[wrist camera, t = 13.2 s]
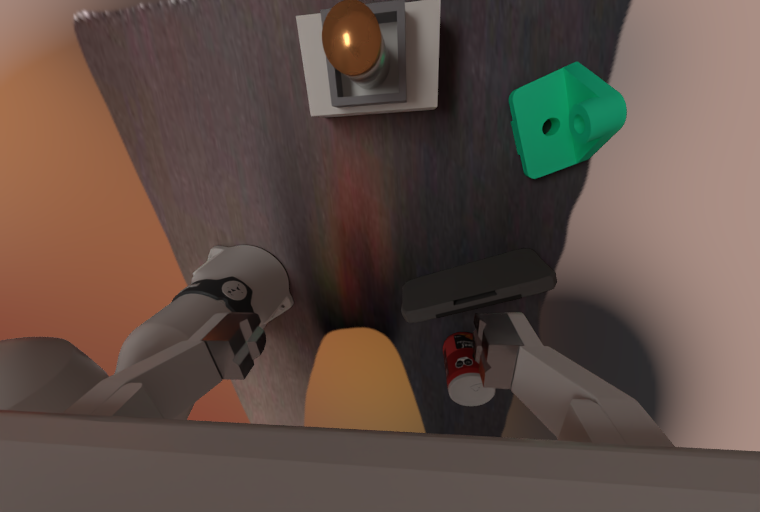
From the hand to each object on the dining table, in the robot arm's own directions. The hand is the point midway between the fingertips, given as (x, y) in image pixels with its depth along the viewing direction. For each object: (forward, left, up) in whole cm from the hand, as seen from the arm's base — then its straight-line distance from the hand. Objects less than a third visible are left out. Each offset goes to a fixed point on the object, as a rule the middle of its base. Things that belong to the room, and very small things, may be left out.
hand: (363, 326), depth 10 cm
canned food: (-16, -33, -36) cm, 52 cm away
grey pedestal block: (+7, +12, -36) cm, 39 cm away
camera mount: (+18, -10, -36) cm, 42 cm away
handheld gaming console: (-4, -20, -36) cm, 42 cm away
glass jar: (+7, +12, -30) cm, 33 cm away
